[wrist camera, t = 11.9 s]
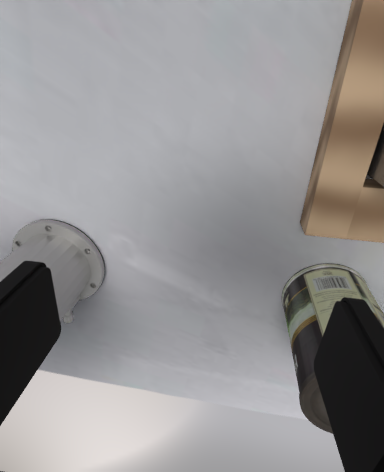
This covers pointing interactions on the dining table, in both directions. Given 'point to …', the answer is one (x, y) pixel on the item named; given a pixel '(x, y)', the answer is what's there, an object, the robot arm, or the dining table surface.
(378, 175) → the tall grey upright slab
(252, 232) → the dining table surface
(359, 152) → the wooden slotted base
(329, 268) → the coffee can
